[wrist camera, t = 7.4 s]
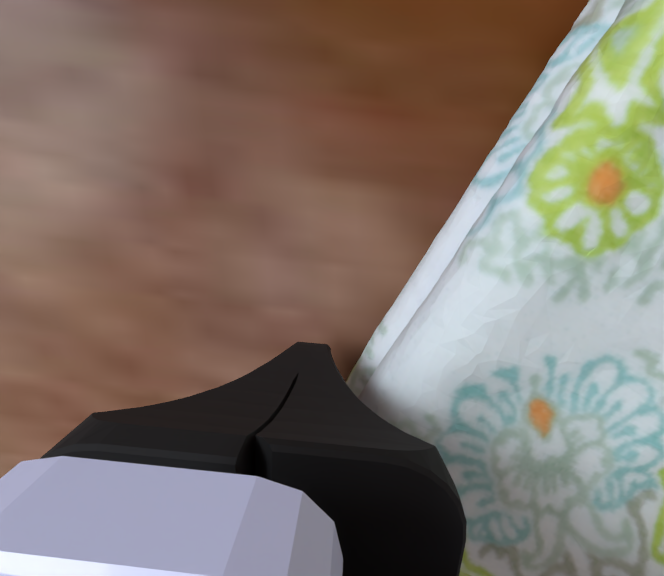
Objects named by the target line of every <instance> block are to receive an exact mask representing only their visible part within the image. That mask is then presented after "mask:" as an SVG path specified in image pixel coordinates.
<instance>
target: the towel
mask: <svg viewBox="0 0 664 576" xmlns="http://www.w3.org/2000/svg"><path fill="white" fill-rule="evenodd" d="M346 384H347V385H348V386H349V388H350V389H351V391H352V392H353V393H354V394H355V395H356V396H357V398H358V399H359V400H360V401H361V402H362V403H364V404H365V405H366V406H367V407H368V408H369V409H371V410H372V411H373V412H374V413H376V414H377V415H378V416H379V417H381V418H382V419H384V420H385V421H387V422H388V423H390V424H392V425H393V426H395V427H397V428H398V429H400V430H402V431H404V432H405V433H408V434H410V435H412V436H414V437H416V438H419V439H421V440H423V441H425V442H427V443H430V444H432V445H434V446H436V448H437V449H438V451H439V453H440V455H441V457H442V459H443V461H444V463H445V465H446V467H447V469H448V471H449V473H450V475H451V477H452V479H453V481H454V484H455V486H456V489H457V491H458V494H459V496H460V499H461V503H462V506H463V510H464V514H465V518H466V521H467V526H466V543H465V548H464V553H463V558H462V563H461V568H460V573H459V576H664V0H590V1H589V2H588V4H587V5H586V7H585V8H584V10H583V11H582V12H581V14H580V15H579V17H578V18H577V20H576V21H575V23H574V25H573V27H572V29H571V31H570V32H569V33H568V35H567V36H566V37H565V39H564V40H563V41H562V42H561V44H560V45H559V46H558V48H557V50H556V52H555V53H554V54H553V55H552V57H551V58H550V59H549V61H548V63H547V65H546V67H545V69H544V71H543V72H542V74H541V75H540V77H539V78H538V80H537V81H536V83H535V85H534V87H533V88H532V89H531V91H530V92H529V94H528V95H527V97H526V98H525V100H524V101H523V103H522V104H521V106H520V107H519V109H518V110H517V111H516V113H515V114H514V116H513V117H512V119H511V120H510V122H509V124H508V126H507V128H506V129H505V130H504V132H503V133H502V135H501V137H500V138H499V140H498V142H497V144H496V145H495V147H494V148H493V149H492V151H491V152H490V153H489V155H488V156H487V158H486V159H485V161H484V163H483V164H482V166H481V168H480V169H479V171H478V172H477V174H476V176H475V177H474V179H473V180H472V182H471V183H470V185H469V187H468V188H467V190H466V192H465V193H464V195H463V196H462V198H461V200H460V201H459V203H458V205H457V206H456V208H455V209H454V211H453V212H452V214H451V215H450V217H449V219H448V220H447V222H446V223H445V225H444V226H443V227H442V229H441V230H440V232H439V233H438V234H437V236H436V237H435V239H434V241H433V242H432V244H431V246H430V248H429V249H428V251H427V253H426V254H425V256H424V257H423V259H422V260H421V262H420V263H419V265H418V266H417V268H416V269H415V271H414V273H413V274H412V276H411V277H410V279H409V280H408V282H407V284H406V285H405V287H404V288H403V290H402V291H401V293H400V294H399V296H398V298H397V299H396V301H395V302H394V304H393V305H392V307H391V308H390V310H389V311H388V312H387V314H386V315H385V317H384V319H383V320H382V322H381V323H380V325H379V326H378V327H377V328H376V330H375V332H374V334H373V335H372V337H371V339H370V341H369V342H368V344H367V346H366V347H365V349H364V351H363V353H362V355H361V357H360V359H359V360H358V362H357V363H356V365H355V366H354V368H353V369H352V371H351V373H350V375H349V377H348V379H347V381H346Z"/></svg>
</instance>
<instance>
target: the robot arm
mask: <svg viewBox="0 0 664 576" xmlns="http://www.w3.org/2000/svg"><path fill="white" fill-rule="evenodd" d="M466 526H467V521H466V518H465V514H464V510H463V506H462V503H461V499H460V496H459V494H458V491H457V489H456V486H455V484H454V481H453V479H452V477H451V475H450V473H449V471H448V469H447V467H446V465H445V463H444V461H443V459H442V457H441V455H440V453H439V451H438V449H437V448H436V446H434V445H432V444H430V443H427V442H425V441H423V440H421V439H419V438H416V437H414V436H412V435H410V434H408V433H405V432H404V431H402V430H400V429H398V428H397V427H395V426H393V425H392V424H390V423H388V422H387V421H385V420H384V419H382V418H381V417H379V416H378V415H377V414H376V413H374V412H373V411H372V410H371V409H369V408H368V407H367V406H366V405H365V404H364V403H362V402H361V401H360V400H359V399H358V398H357V396H356V395H355V394H354V393H353V392H352V391H351V389H350V388H349V386H348V385H347V384H346V382H345V381H344V379H343V378H342V376H341V374H340V372H339V371H338V369H337V367H336V365H335V363H334V360H333V358H332V355H331V348H330V347H329V346H328V345H327V344H317V343H305V342H297V343H295V344H294V345H292V346H291V347H290V348H288V349H287V350H285V351H284V352H283V353H281V354H280V355H278V356H277V357H275V358H274V359H272V360H271V361H269V362H268V363H266V364H264V365H263V366H261V367H259V368H257V369H256V370H254V371H252V372H250V373H249V374H247V375H245V376H243V377H241V378H239V379H237V380H234V381H232V382H230V383H227V384H225V385H223V386H220V387H217V388H215V389H211V390H208V391H205V392H202V393H199V394H196V395H193V396H190V397H186V398H182V399H178V400H174V401H170V402H165V403H160V404H155V405H150V406H144V407H138V408H130V409H122V410H115V411H107V412H97V413H92V414H91V415H90V416H89V417H88V418H86V419H85V420H84V421H83V422H82V423H81V424H79V425H78V426H77V427H76V428H75V429H74V430H73V431H71V432H70V433H69V434H68V435H67V436H66V437H64V438H63V439H62V440H61V441H60V442H59V443H57V444H56V445H55V446H54V447H53V448H52V449H50V450H49V451H48V452H47V453H46V454H45V455H43V456H42V457H41V458H40V459H36V460H29V461H22V462H20V463H19V464H18V465H16V466H15V467H14V468H13V469H12V470H10V471H9V472H8V473H7V474H5V475H4V476H3V477H2V478H1V479H0V576H459V573H460V568H461V563H462V558H463V553H464V548H465V543H466Z"/></svg>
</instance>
